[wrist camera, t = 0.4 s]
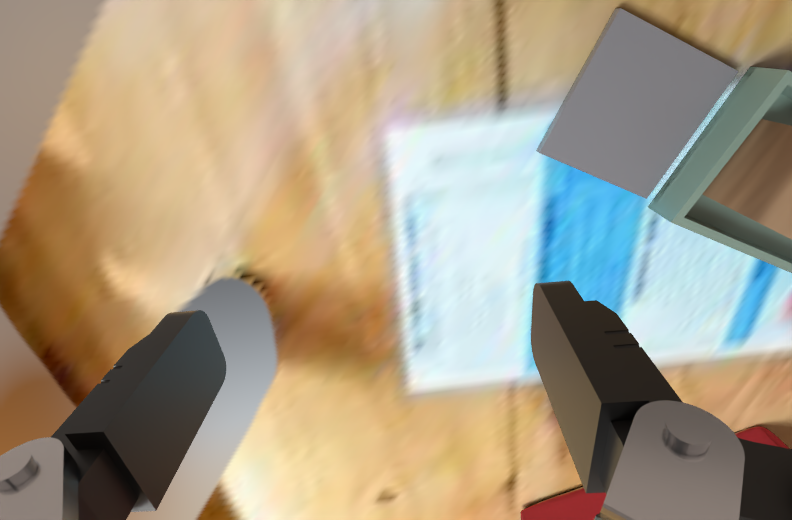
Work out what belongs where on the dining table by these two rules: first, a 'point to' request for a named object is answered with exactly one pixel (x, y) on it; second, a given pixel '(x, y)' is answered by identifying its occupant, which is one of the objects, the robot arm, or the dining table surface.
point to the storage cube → (576, 510)
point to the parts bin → (682, 193)
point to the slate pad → (634, 104)
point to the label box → (759, 178)
